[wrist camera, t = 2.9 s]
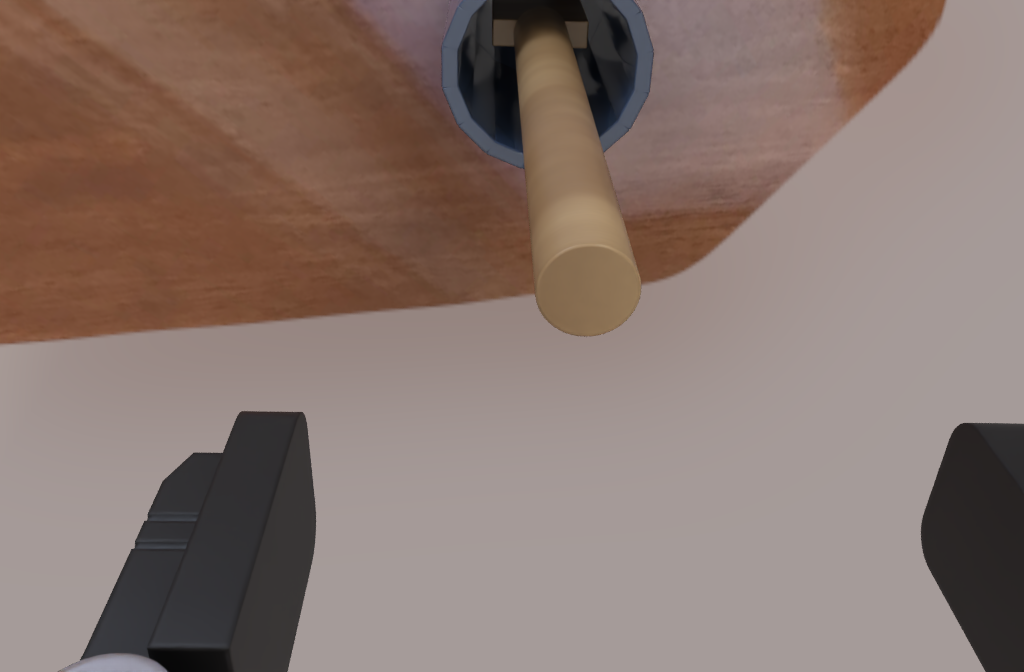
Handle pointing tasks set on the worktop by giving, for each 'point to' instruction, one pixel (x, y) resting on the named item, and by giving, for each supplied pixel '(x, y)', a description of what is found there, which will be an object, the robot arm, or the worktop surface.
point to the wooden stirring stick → (566, 173)
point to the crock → (493, 78)
